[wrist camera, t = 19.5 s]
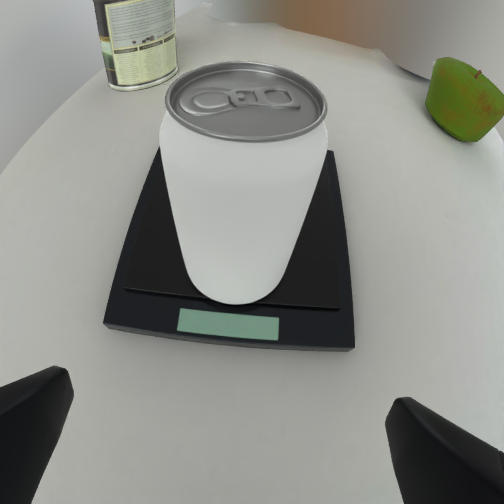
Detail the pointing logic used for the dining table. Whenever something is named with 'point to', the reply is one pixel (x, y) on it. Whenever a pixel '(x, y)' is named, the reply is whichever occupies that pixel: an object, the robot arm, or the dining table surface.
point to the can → (241, 172)
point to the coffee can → (137, 42)
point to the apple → (463, 100)
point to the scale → (236, 315)
